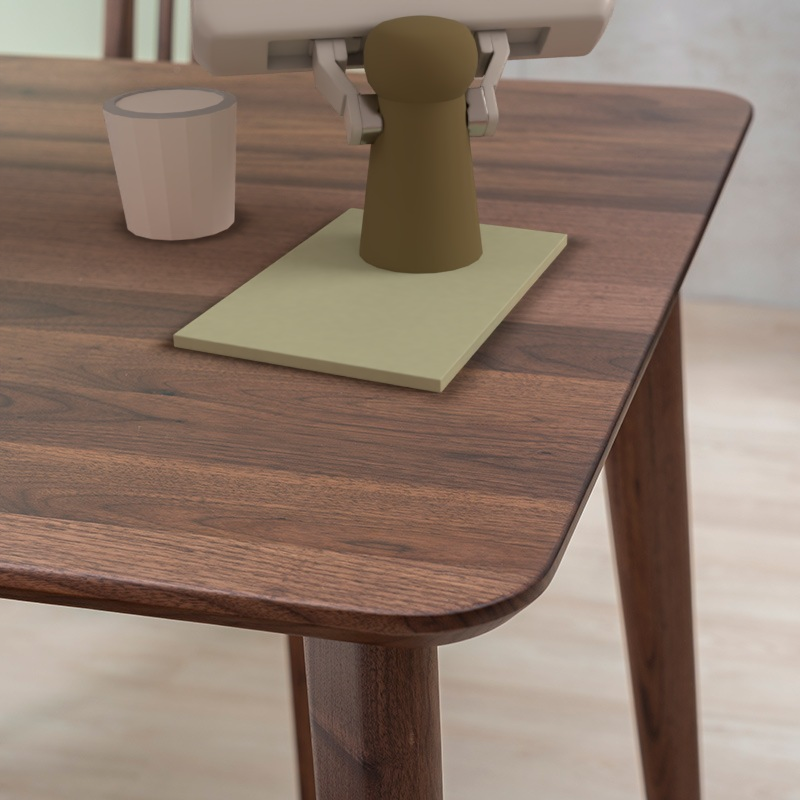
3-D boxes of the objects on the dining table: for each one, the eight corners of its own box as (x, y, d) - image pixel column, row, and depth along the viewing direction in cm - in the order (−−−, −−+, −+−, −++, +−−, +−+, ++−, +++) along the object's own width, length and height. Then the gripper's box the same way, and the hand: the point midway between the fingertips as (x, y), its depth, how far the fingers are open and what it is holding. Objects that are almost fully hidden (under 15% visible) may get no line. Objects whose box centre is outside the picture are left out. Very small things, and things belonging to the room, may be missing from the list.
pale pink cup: (130, 259, 63) (114, 122, 60) (105, 219, 69) (90, 91, 66) (261, 241, 66) (253, 107, 62) (227, 203, 71) (217, 79, 68)
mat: (351, 225, 68) (350, 207, 67) (566, 252, 64) (567, 233, 63) (174, 356, 53) (172, 334, 53) (440, 403, 49) (440, 379, 48)
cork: (500, 240, 62) (507, 12, 57) (454, 281, 58) (456, 35, 53) (391, 224, 65) (388, 3, 60) (337, 262, 60) (328, 25, 55)
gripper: (165, -153, 57) (195, 112, 53) (592, -163, 61) (652, 84, 57) (170, -61, 63) (198, 184, 59) (560, -75, 67) (612, 154, 63)
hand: (424, 135), depth 58 cm, fingers closed on cork, 4 cm apart
